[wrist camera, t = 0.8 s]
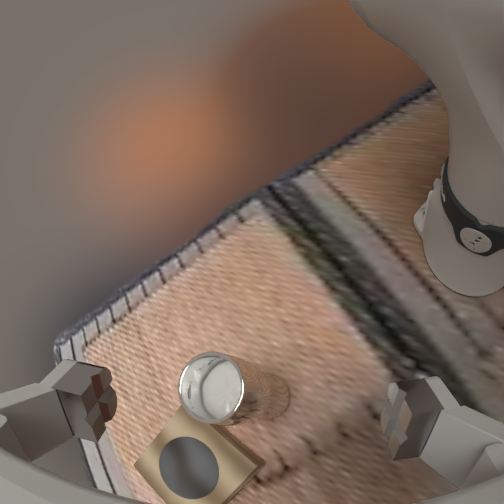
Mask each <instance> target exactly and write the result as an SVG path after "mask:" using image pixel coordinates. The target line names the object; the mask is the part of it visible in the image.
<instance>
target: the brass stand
mask: <svg viewBox="0 0 504 504" xmlns="http://www.w3.org/2000/svg"><path fill="white" fill-rule="evenodd" d="M264 464H265V462H264V461H263V460H261V459H260V458H259V457H258V456H257V455H255V454H254V453H253V452H252V451H251V450H249V449H248V448H247V447H246V446H245V445H244V444H242V443H241V442H240V441H239V440H238V439H237V438H235V437H234V436H233V435H232V434H231V433H230V432H229V431H228V430H227V429H225V428H224V427H223V426H222V425H216V424H207V423H202V422H199V421H197V420H195V419H194V418H192V417H191V416H190V415H189V414H188V413H187V412H186V411H185V409H184V408H183V406H182V405H181V407H180V408H179V409H178V410H177V412H176V413H175V414H174V416H173V417H172V418H171V419H170V421H169V422H168V423H167V424H166V426H165V427H164V428H163V429H162V431H161V432H160V433H159V434H158V436H157V437H156V438H155V439H154V441H153V442H152V443H151V444H150V445H149V447H148V448H147V449H146V450H145V452H144V453H143V454H142V455H141V457H140V458H139V459H138V460H137V461H136V463H135V464H134V466H135V468H136V469H137V470H138V471H139V473H140V474H141V475H142V476H143V478H144V479H145V480H146V481H147V482H148V483H149V485H150V486H151V487H152V488H153V489H154V490H155V492H156V493H157V494H158V495H159V496H160V497H161V498H162V499H163V500H164V502H165V503H166V504H227V503H228V502H229V501H230V500H231V499H232V498H233V497H234V496H235V495H236V494H237V493H238V492H239V491H240V490H241V489H242V488H243V487H244V486H245V485H246V484H247V483H248V482H249V481H250V480H251V479H252V477H253V476H254V475H255V474H256V473H257V472H258V471H259V470H260V469H261V468H262V467H263V466H264Z"/></svg>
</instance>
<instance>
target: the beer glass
mask: <svg viewBox="0 0 504 504" xmlns="http://www.w3.org/2000/svg"><path fill="white" fill-rule="evenodd" d="M178 393H179V398H180V402H181V404H182V406H183V408H184V409H185V411H186V412H187V413H188V414H189V415H190V416H191V417H192V418H194V419H195V420H197V421H199V422H202V423H207V424H216V425H227V426H233V425H241V424H245V423H248V422H251V421H254V420H256V419H261V420H272V419H275V418H277V417H279V416H280V415H281V414H283V413H284V411H285V410H286V408H287V407H288V404H289V400H290V393H289V389H288V387H287V385H286V384H285V382H284V381H283V380H282V379H280V378H279V377H277V376H275V375H270V374H264V373H263V372H262V371H261V370H260V369H259V368H257V367H256V366H255V365H253V364H252V363H250V362H248V361H245V360H243V359H240V358H237V357H234V356H230V355H226V354H222V353H219V352H205V353H202V354H199V355H197V356H196V357H194V358H193V359H192V360H190V361H189V362H188V363H187V365H186V366H185V367H184V369H183V371H182V373H181V376H180V379H179V384H178Z"/></svg>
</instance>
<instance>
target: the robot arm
mask: <svg viewBox="0 0 504 504" xmlns="http://www.w3.org/2000/svg"><path fill="white" fill-rule="evenodd" d="M348 2H349V3H350V5H351V6H352V8H353V10H354V11H355V13H356V14H357V15H358V16H359V18H360V19H361V20H362V21H363V22H364V23H365V24H366V25H367V26H368V27H369V28H370V29H371V30H372V31H373V32H374V33H375V34H377V35H378V36H380V37H381V38H383V39H385V40H387V41H389V42H390V43H392V44H393V45H395V46H396V47H398V48H399V49H400V50H402V51H403V52H404V53H406V54H407V55H408V56H409V57H410V58H412V59H413V60H414V61H415V62H416V63H417V64H418V65H419V66H420V67H421V68H422V69H423V71H424V72H425V73H426V74H427V75H428V77H429V78H430V79H431V81H432V82H433V84H434V85H435V86H436V88H437V90H438V92H439V93H440V95H441V97H442V99H443V101H444V104H445V106H446V109H447V113H448V118H449V130H450V146H449V156H448V158H447V159H446V162H445V163H444V165H443V167H442V169H441V173H440V175H441V180H440V179H439V178H436V179H435V181H434V183H433V187H434V190H431V191H430V192H429V194H428V199H427V200H426V201H425V203H424V204H423V205H422V206H421V207H420V209H419V210H418V211H417V212H416V214H415V215H414V218H413V224H414V227H415V228H416V230H417V232H418V233H419V235H420V236H421V238H422V241H423V246H424V252H425V256H426V259H427V262H428V264H429V266H430V268H431V270H432V272H433V273H434V274H435V276H436V277H437V278H438V279H439V280H440V281H441V282H442V283H443V284H444V285H445V286H447V287H448V288H450V289H451V290H453V291H455V292H457V293H460V294H463V295H467V296H485V295H488V294H491V293H494V292H496V291H497V290H499V289H500V288H502V287H503V286H504V0H348ZM423 214H424V215H423ZM111 381H112V376H111V372H110V370H109V369H108V368H106V367H101V366H97V365H92V364H88V363H83V362H79V361H74V360H70V359H65V360H63V361H62V362H61V363H60V364H59V365H58V366H57V367H56V368H55V369H54V370H53V371H52V372H51V373H50V374H49V375H47V377H45V378H44V379H43V381H42V382H40V383H39V384H37V383H34V384H31V385H27V386H25V387H21V388H18V389H15V390H12V391H8V392H5V393H2V394H0V504H151V503H146V502H142V501H138V500H134V499H130V498H126V497H123V496H119V495H115V494H112V493H109V492H105V491H102V490H99V489H96V488H93V487H90V486H87V485H84V484H81V483H78V482H76V481H73V480H70V479H68V478H65V477H63V476H60V475H58V474H55V473H53V472H50V471H48V470H46V469H43V468H41V467H39V466H37V465H35V464H32V463H31V462H32V461H34V460H36V459H37V458H39V457H41V456H43V455H44V454H46V453H48V452H49V451H51V450H53V449H55V448H57V447H58V446H60V445H62V444H64V443H65V442H67V441H69V440H70V439H72V438H74V436H75V437H78V438H82V439H86V440H89V441H93V442H97V443H98V441H99V439H100V438H101V436H102V435H103V433H104V431H105V430H106V427H105V422H108V421H110V420H112V418H113V416H114V415H115V412H116V408H117V396H116V392H115V390H114V389H113V388H112V387H111V386H110V383H111ZM387 395H388V397H389V400H388V401H387V402H386V403H385V404H384V405H383V408H382V411H381V421H380V423H381V429H382V432H383V435H385V436H386V437H388V438H389V442H388V444H387V445H388V448H389V451H390V453H391V456H392V459H393V460H401V459H408V458H414V457H419V458H420V459H421V460H423V461H424V462H425V463H426V464H428V465H429V466H430V467H431V468H433V469H434V470H435V471H436V472H438V473H439V474H440V475H441V476H443V477H444V478H445V479H447V480H448V481H449V482H450V483H452V484H453V485H454V486H456V487H457V488H458V489H459V490H458V491H455V492H452V493H449V494H446V495H442V496H439V497H435V498H431V499H427V500H424V501H419V502H415V503H411V504H504V424H503V423H501V422H499V421H497V420H494V419H492V418H490V417H488V416H486V415H484V414H481V413H479V412H477V411H475V410H473V409H471V408H468V407H466V406H460V405H459V404H458V402H457V401H456V400H455V398H454V397H453V395H452V394H451V393H450V391H449V390H448V389H447V387H446V386H445V384H444V383H443V382H442V380H441V379H440V378H439V377H437V376H434V377H428V378H422V379H417V380H408V381H398V382H391V384H390V385H389V387H388V391H387Z"/></svg>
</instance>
